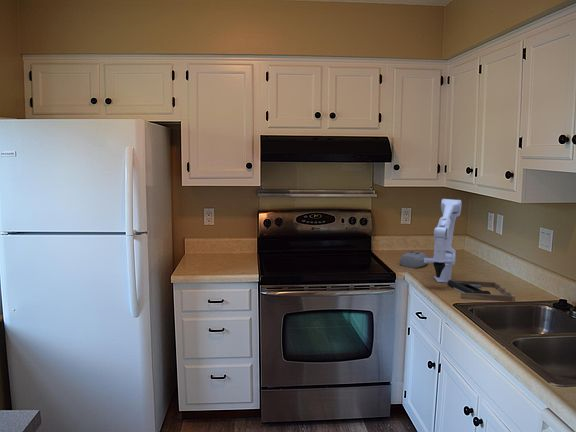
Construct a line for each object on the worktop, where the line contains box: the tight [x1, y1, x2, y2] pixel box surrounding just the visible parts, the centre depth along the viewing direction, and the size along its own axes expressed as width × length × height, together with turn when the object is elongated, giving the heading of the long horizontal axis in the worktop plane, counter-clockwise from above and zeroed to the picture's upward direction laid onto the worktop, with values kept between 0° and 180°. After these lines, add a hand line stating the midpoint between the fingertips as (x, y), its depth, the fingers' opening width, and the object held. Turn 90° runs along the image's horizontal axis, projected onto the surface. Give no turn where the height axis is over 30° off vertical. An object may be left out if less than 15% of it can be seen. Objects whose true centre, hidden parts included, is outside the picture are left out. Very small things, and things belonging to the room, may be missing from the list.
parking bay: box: [451, 279, 516, 302], centre depth 219 cm, size 23×24×2 cm
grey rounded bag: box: [399, 250, 430, 269], centre depth 272 cm, size 15×8×20 cm
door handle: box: [446, 279, 491, 294], centre depth 222 cm, size 3×20×16 cm
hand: (437, 277), depth 222 cm, fingers closed
